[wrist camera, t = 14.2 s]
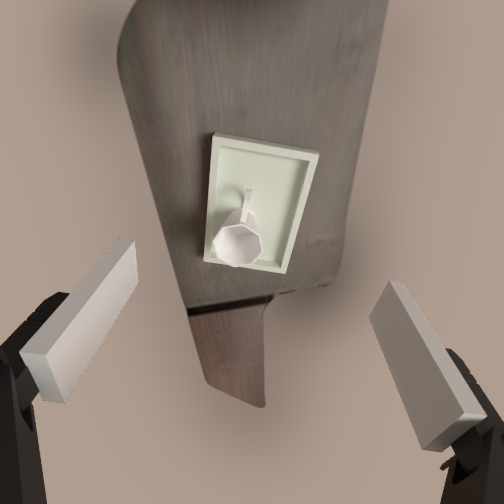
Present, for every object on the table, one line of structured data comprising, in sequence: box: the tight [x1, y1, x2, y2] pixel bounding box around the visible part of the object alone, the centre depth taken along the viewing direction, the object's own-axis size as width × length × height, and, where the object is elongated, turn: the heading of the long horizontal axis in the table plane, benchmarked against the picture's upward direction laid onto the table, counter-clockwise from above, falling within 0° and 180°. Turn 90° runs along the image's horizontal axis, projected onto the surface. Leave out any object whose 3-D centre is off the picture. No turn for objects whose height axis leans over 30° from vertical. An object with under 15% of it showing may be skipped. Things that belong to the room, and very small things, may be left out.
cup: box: [212, 188, 263, 267], centre depth 40 cm, size 7×10×8 cm
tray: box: [203, 132, 319, 274], centre depth 42 cm, size 20×14×2 cm
